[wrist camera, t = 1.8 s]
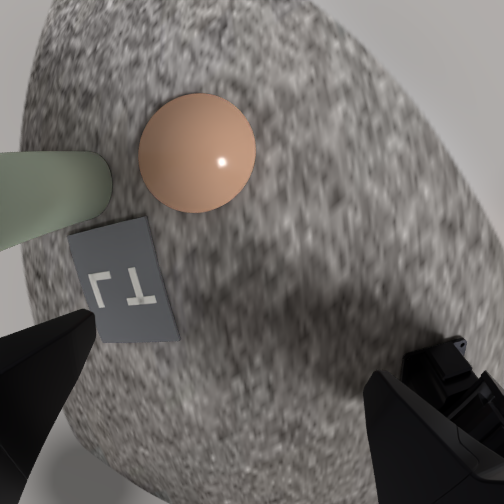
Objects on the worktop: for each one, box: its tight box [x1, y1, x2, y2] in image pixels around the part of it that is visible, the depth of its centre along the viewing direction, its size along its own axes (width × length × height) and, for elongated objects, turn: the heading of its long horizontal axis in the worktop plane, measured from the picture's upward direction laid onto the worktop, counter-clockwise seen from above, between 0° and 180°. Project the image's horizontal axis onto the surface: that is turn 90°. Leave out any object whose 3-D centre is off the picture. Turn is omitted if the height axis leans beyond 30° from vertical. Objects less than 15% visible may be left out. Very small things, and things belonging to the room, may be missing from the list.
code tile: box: [67, 216, 181, 343], centre depth 22 cm, size 10×8×1 cm
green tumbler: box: [0, 151, 112, 251], centre depth 14 cm, size 6×6×12 cm
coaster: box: [138, 93, 256, 213], centre depth 18 cm, size 8×8×1 cm
